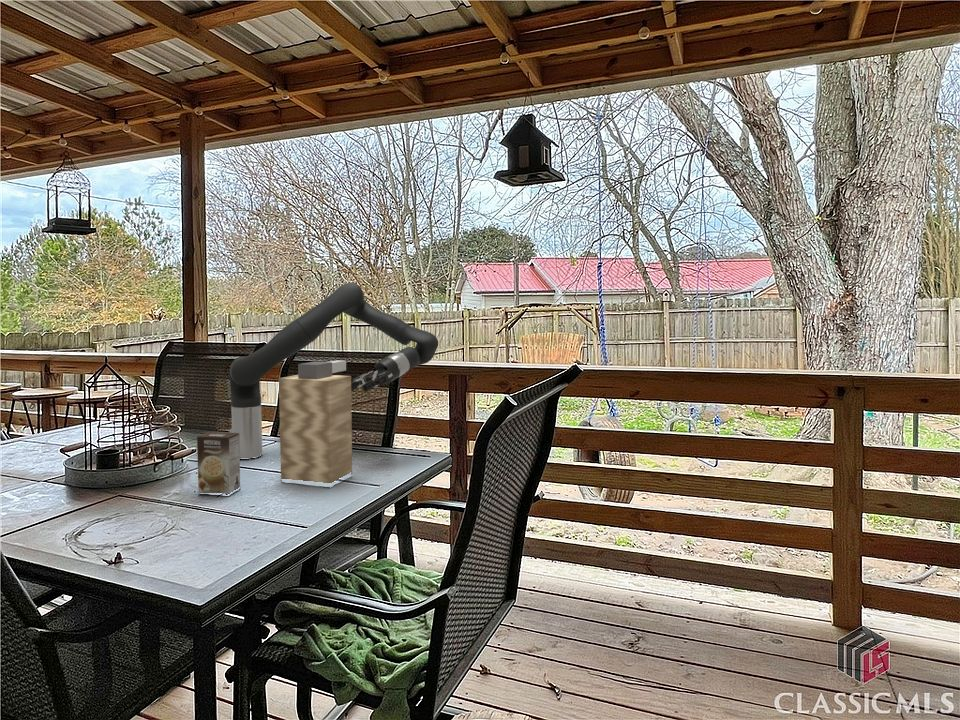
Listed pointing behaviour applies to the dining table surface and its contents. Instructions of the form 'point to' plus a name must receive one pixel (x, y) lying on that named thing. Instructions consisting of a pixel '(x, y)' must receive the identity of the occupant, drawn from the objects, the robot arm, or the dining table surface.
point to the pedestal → (315, 428)
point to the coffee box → (218, 462)
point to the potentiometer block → (320, 369)
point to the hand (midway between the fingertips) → (355, 389)
